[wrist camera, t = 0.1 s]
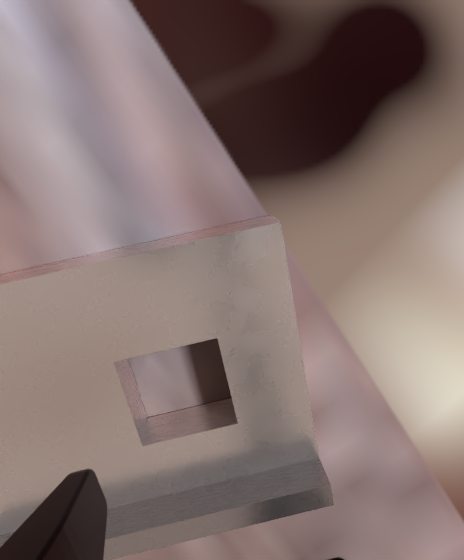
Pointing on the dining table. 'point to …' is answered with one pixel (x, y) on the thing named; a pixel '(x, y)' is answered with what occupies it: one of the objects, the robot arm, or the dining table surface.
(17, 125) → the dining table surface
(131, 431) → the jig
